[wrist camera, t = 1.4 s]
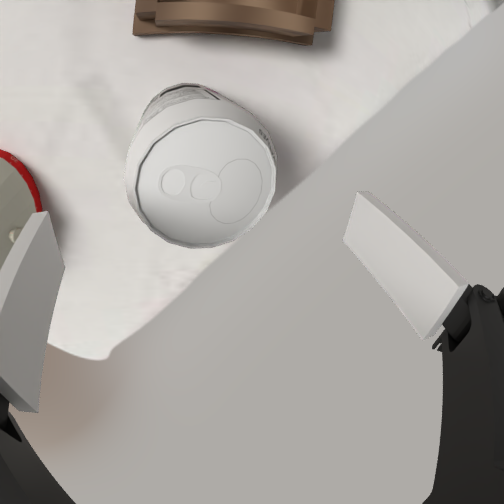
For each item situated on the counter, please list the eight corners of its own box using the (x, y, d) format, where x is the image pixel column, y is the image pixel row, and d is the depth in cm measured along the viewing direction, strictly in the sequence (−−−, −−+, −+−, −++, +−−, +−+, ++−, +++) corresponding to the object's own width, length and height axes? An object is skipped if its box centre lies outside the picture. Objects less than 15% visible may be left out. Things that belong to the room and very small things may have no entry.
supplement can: (238, 94, 24) (311, 131, 13) (213, 170, 28) (255, 264, 17) (154, 74, 21) (140, 86, 10) (134, 157, 25) (113, 249, 14)
